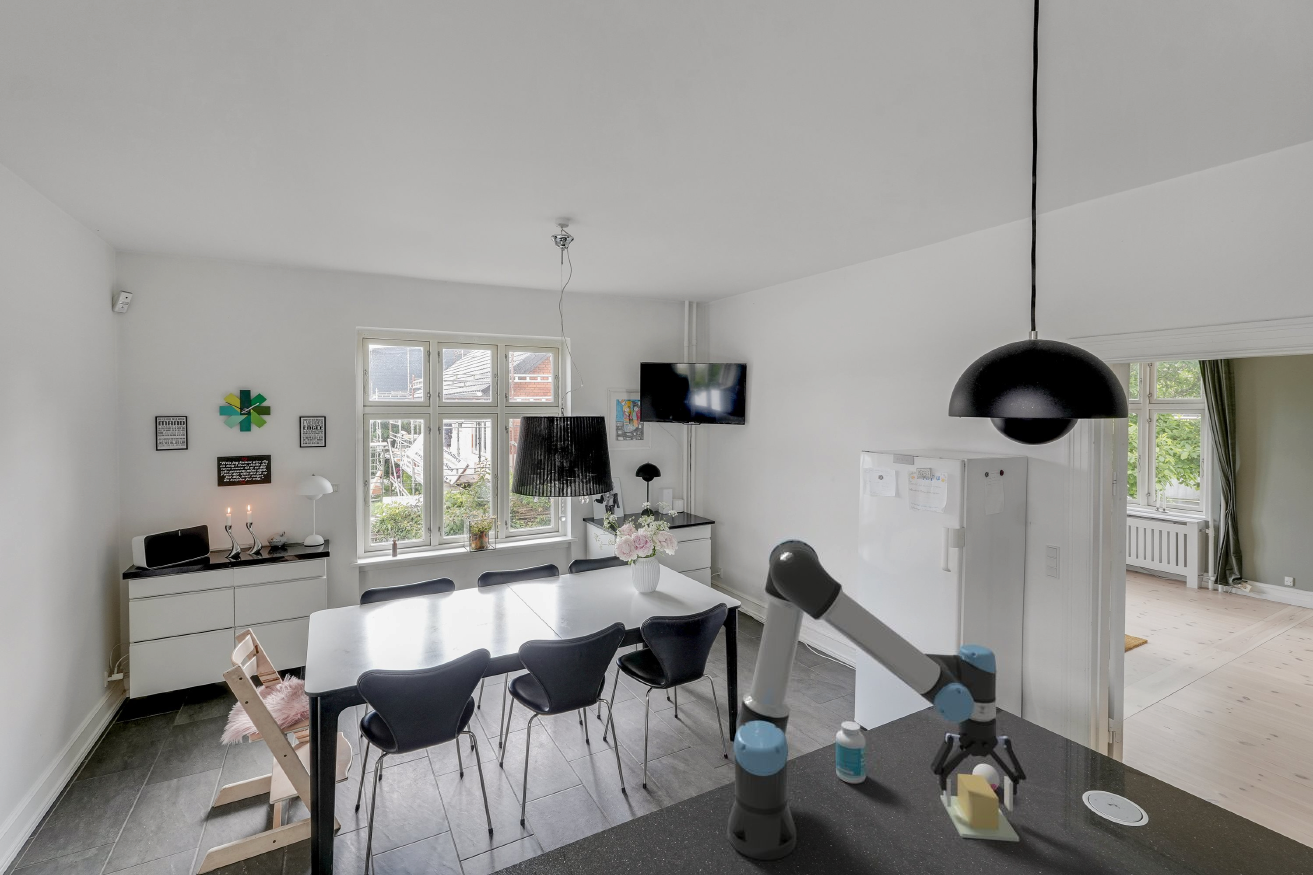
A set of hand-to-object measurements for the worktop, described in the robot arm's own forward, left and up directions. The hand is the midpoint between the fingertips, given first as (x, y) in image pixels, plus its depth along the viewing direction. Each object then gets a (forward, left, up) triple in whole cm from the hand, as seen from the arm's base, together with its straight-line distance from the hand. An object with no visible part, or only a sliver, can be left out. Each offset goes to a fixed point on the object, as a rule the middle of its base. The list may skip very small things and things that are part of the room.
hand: (977, 805), depth 140 cm
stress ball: (+6, +13, -3) cm, 14 cm away
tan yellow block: (0, 0, -2) cm, 2 cm away
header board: (0, 0, -3) cm, 3 cm away
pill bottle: (-26, +14, -3) cm, 30 cm away
